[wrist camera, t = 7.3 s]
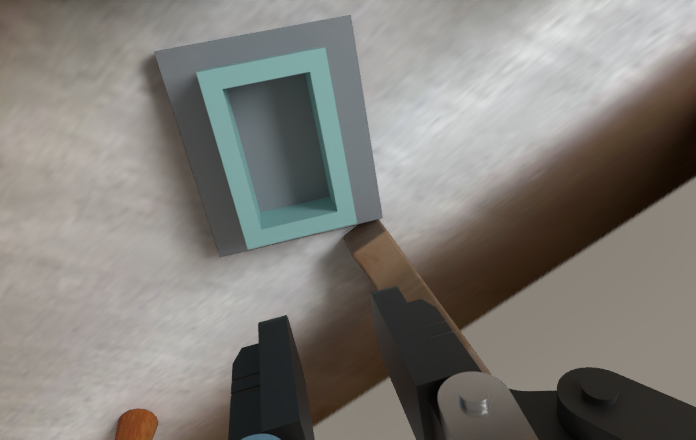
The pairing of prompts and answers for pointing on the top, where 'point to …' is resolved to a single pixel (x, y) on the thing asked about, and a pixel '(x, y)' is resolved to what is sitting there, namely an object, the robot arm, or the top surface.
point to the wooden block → (395, 271)
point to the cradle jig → (275, 132)
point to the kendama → (136, 425)
